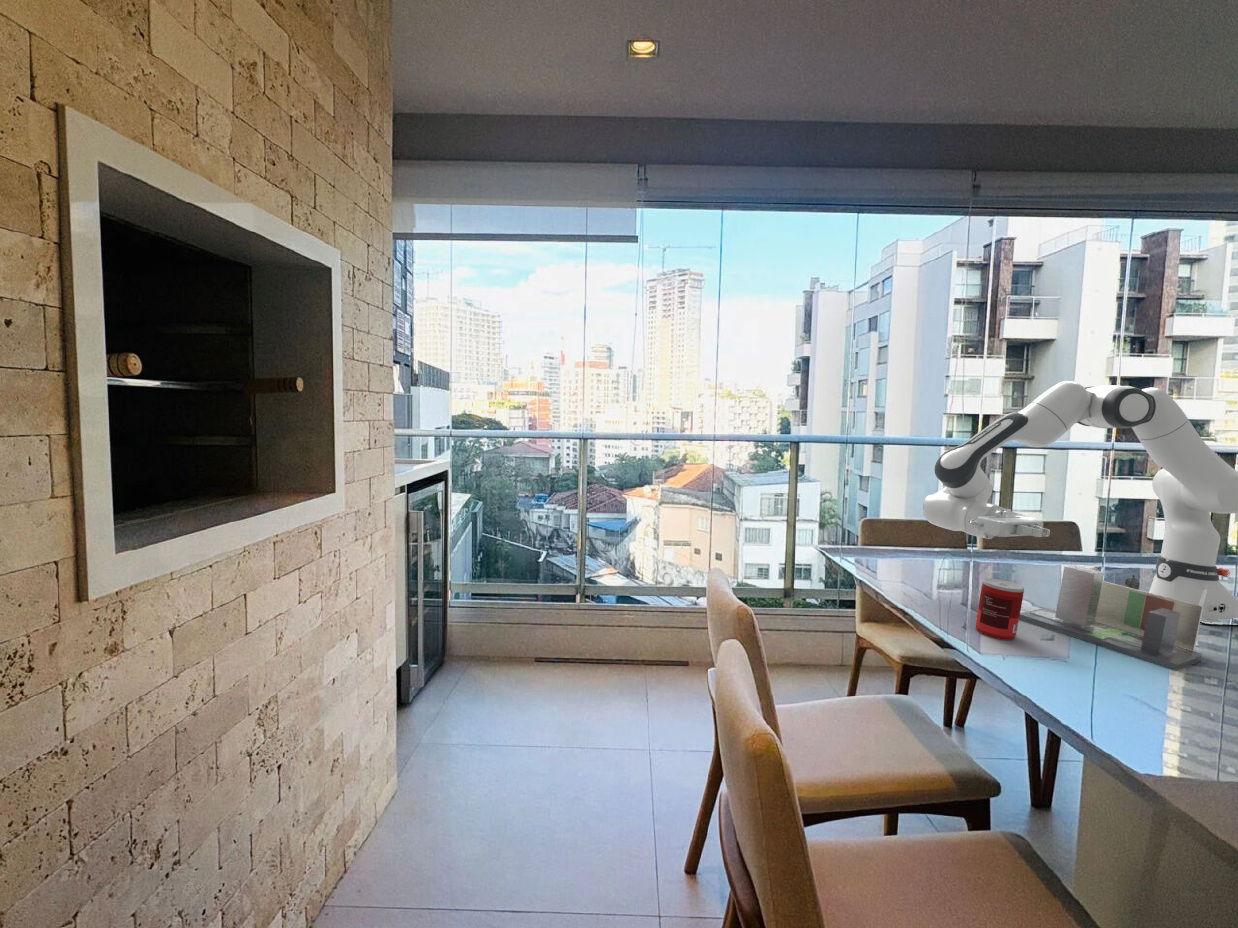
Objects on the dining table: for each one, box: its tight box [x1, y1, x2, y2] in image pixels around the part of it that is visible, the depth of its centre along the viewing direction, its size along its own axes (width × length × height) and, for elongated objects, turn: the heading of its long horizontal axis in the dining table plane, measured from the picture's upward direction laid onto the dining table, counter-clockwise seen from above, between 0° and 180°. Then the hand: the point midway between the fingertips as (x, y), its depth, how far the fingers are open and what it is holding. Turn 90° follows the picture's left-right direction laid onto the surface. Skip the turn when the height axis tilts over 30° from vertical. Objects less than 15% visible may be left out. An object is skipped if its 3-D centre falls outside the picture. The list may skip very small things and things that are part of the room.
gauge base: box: [1019, 580, 1204, 671], centre depth 147 cm, size 30×21×10 cm
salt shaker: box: [1123, 574, 1141, 590], centre depth 160 cm, size 6×6×12 cm
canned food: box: [974, 577, 1025, 641], centre depth 140 cm, size 8×8×11 cm
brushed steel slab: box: [1055, 564, 1105, 627], centre depth 151 cm, size 6×8×12 cm
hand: (1045, 533), depth 156 cm, fingers closed
